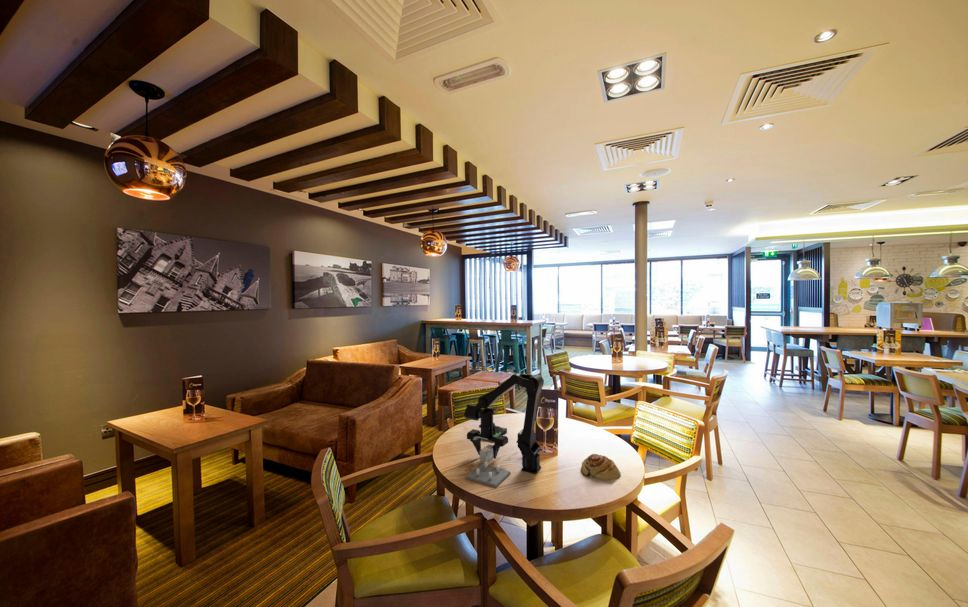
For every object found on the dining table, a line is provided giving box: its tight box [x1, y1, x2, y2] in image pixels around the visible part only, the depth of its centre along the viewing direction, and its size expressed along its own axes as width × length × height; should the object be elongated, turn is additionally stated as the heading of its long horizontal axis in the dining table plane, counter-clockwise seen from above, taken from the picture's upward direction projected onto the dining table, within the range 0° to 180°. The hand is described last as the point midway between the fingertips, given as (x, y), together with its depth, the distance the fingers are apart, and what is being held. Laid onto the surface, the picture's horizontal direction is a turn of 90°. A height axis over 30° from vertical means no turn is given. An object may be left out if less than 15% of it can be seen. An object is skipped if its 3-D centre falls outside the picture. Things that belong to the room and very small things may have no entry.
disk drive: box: [480, 426, 508, 443], centre depth 181 cm, size 10×3×15 cm
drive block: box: [479, 443, 494, 464], centre depth 154 cm, size 3×8×5 cm, turn 149°
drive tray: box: [465, 462, 511, 488], centre depth 138 cm, size 14×12×4 cm
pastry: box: [580, 453, 622, 481], centre depth 140 cm, size 13×15×8 cm
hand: (487, 456), depth 154 cm, fingers open, 8 cm apart
